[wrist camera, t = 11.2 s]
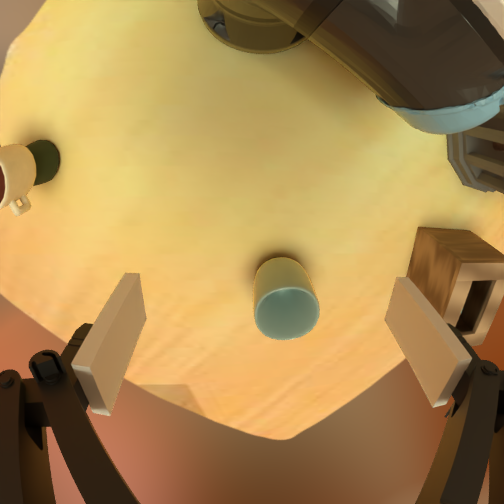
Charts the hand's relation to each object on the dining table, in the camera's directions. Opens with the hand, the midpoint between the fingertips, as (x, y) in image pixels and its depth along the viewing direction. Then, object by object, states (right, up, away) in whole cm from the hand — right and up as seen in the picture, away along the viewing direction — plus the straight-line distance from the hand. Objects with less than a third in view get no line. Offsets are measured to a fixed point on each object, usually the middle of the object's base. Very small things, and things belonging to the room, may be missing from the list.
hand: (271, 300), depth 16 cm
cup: (+3, -1, +30) cm, 30 cm away
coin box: (+29, 0, +30) cm, 42 cm away
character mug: (-31, +16, +22) cm, 40 cm away
